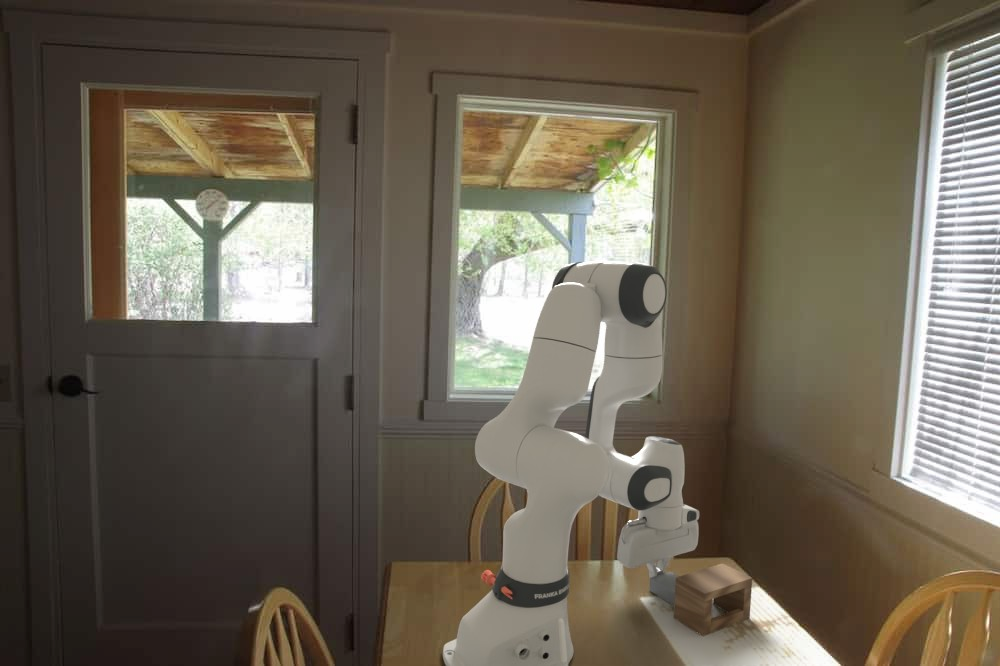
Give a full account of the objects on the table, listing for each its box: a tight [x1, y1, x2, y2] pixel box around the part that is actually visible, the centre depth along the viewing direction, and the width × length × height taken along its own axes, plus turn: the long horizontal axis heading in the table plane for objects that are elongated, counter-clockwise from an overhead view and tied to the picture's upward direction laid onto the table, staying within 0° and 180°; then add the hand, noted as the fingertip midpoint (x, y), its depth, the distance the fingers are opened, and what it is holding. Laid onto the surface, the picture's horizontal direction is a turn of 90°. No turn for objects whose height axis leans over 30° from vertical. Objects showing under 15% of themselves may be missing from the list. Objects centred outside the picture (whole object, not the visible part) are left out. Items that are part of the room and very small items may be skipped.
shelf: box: [673, 563, 753, 637], centre depth 122 cm, size 13×7×8 cm, turn 121°
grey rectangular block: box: [649, 571, 680, 606], centre depth 130 cm, size 6×9×3 cm, turn 32°
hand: (656, 577), depth 135 cm, fingers closed, pressing on grey rectangular block
